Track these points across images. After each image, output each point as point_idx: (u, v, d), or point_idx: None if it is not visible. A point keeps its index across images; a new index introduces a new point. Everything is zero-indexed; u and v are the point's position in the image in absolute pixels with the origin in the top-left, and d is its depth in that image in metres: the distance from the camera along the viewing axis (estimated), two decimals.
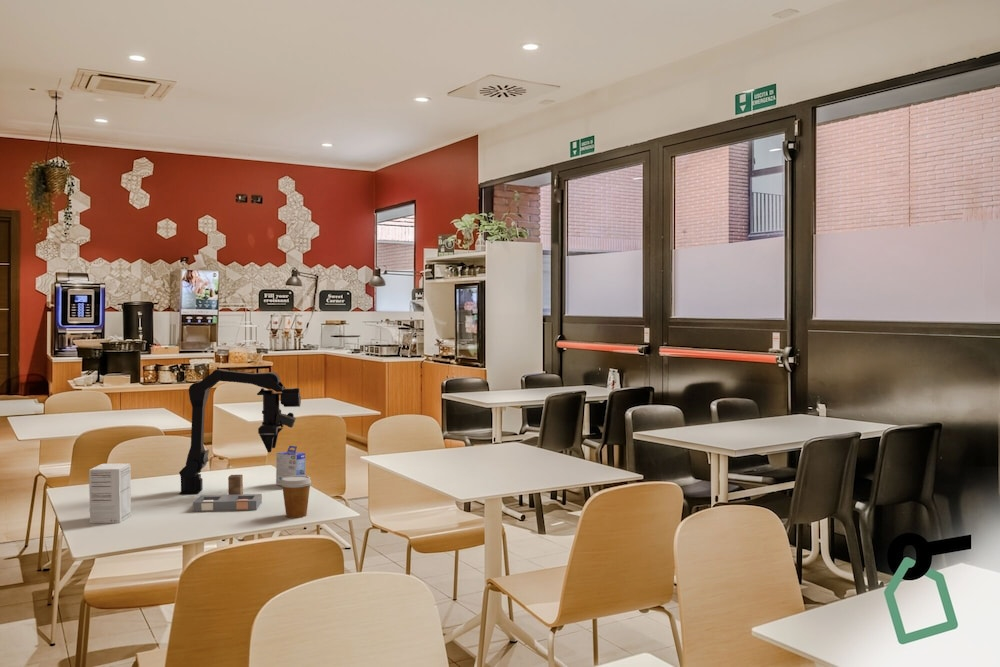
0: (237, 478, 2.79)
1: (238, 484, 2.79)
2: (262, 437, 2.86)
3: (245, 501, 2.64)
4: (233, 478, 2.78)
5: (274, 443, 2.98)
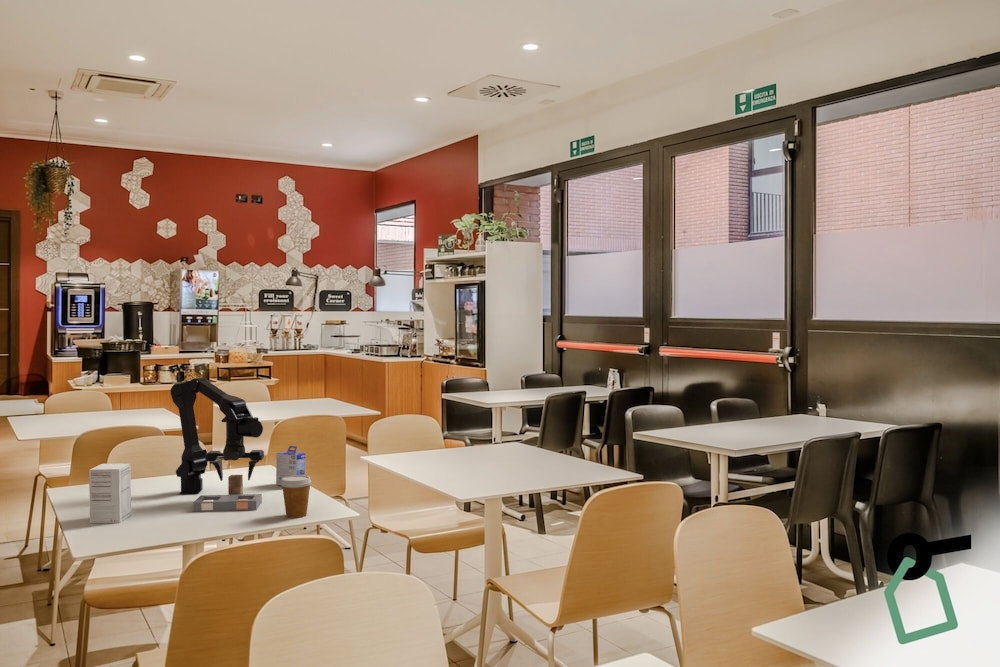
0: (237, 478, 2.79)
1: (238, 484, 2.79)
2: None
3: (245, 501, 2.64)
4: (233, 478, 2.78)
5: (248, 475, 2.81)
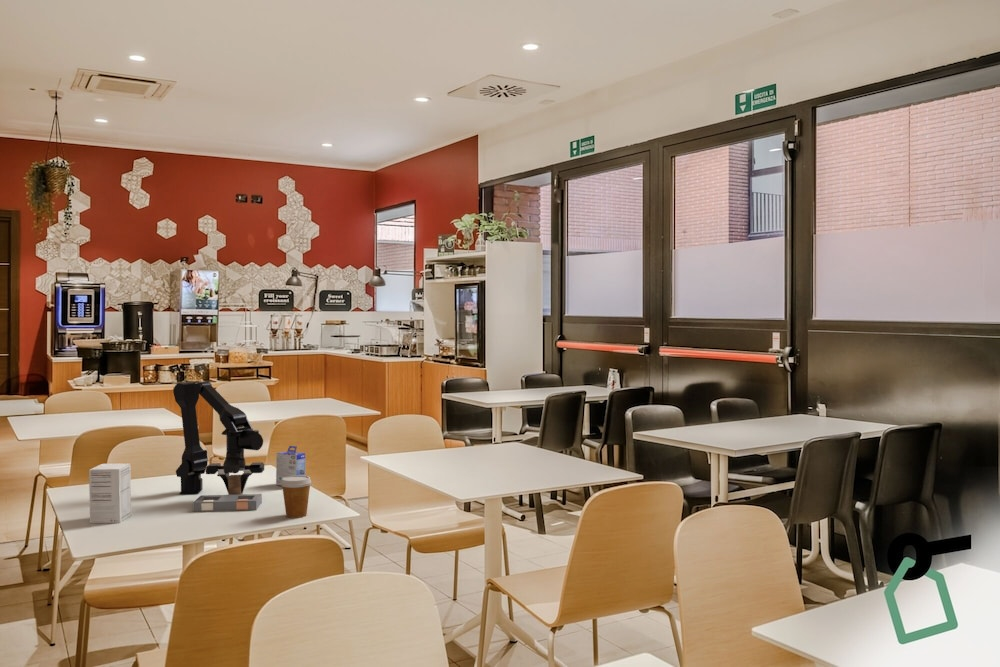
0: (237, 478, 2.79)
1: (238, 484, 2.79)
2: None
3: (245, 501, 2.64)
4: (233, 478, 2.78)
5: (241, 487, 2.81)
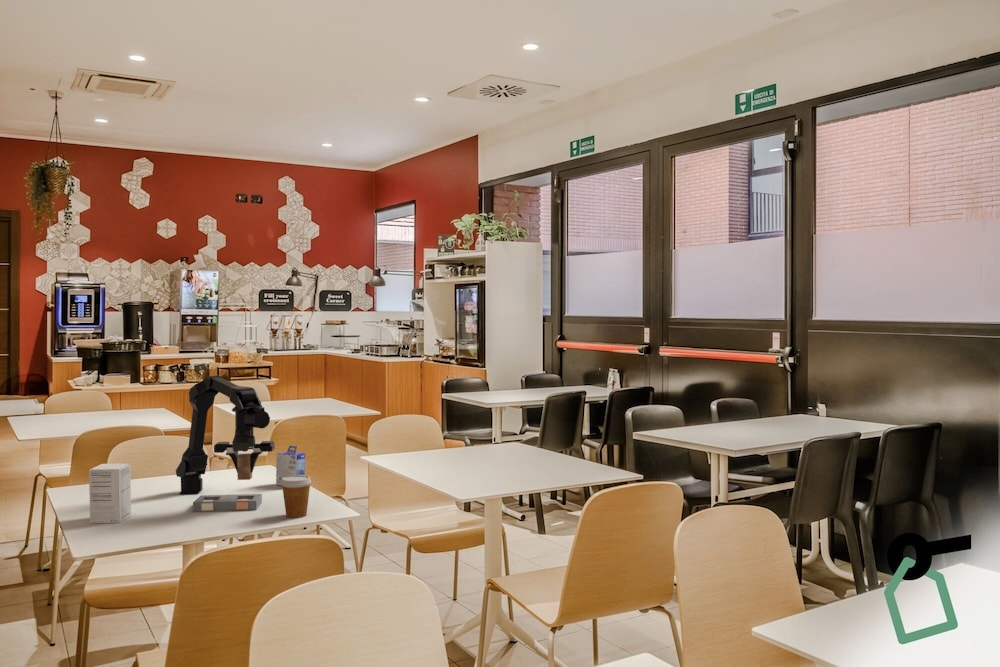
0: (246, 457, 2.67)
1: (247, 463, 2.67)
2: None
3: (245, 501, 2.64)
4: (242, 457, 2.67)
5: None
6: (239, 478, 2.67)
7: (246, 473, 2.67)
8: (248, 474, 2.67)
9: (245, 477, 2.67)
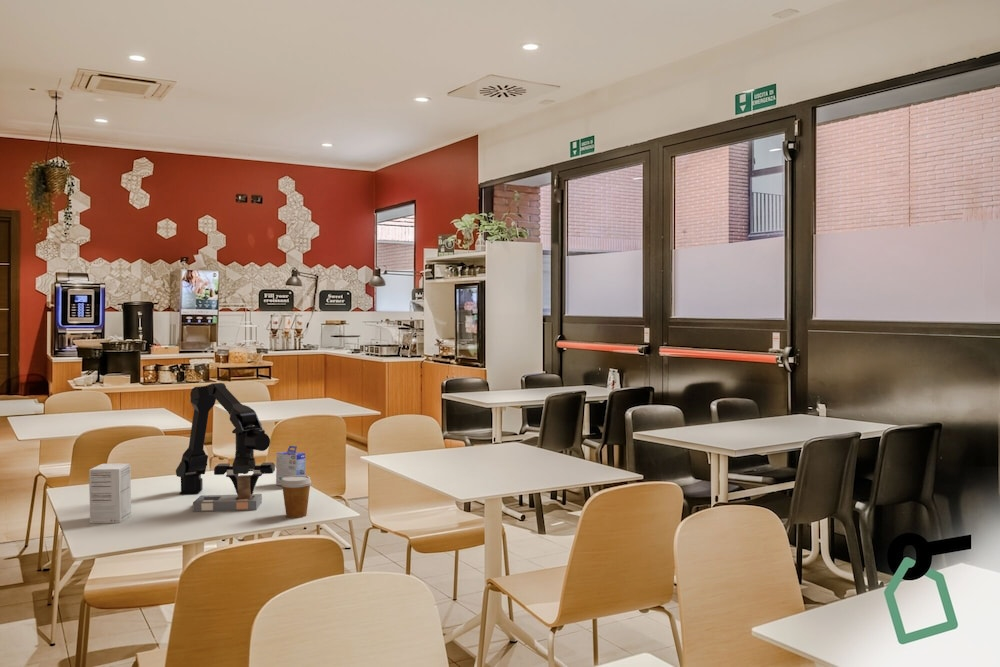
0: (247, 479, 2.67)
1: (248, 485, 2.67)
2: None
3: (245, 501, 2.64)
4: (242, 479, 2.67)
5: (251, 489, 2.69)
6: None
7: (246, 495, 2.67)
8: (248, 496, 2.68)
9: None
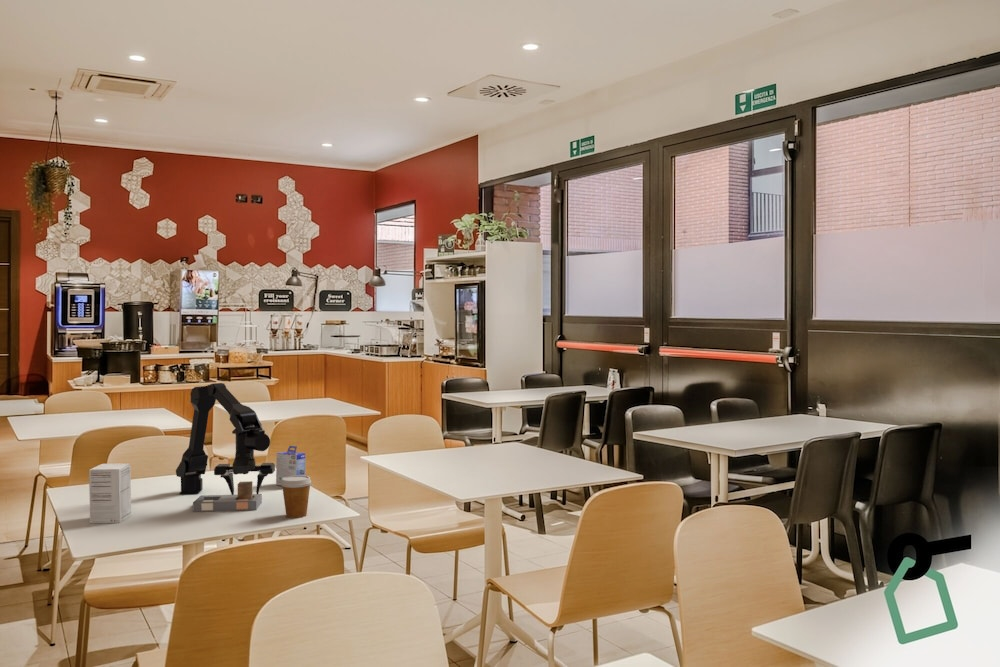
0: (247, 485, 2.67)
1: (248, 491, 2.67)
2: None
3: (245, 501, 2.64)
4: (242, 485, 2.67)
5: (256, 489, 2.70)
6: None
7: None
8: None
9: None
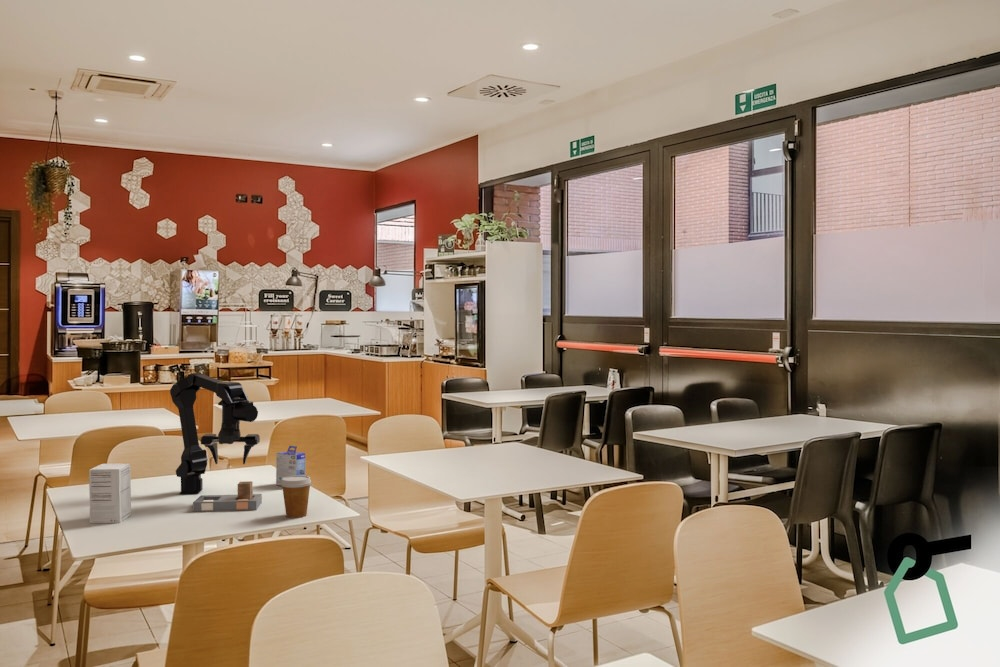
0: (247, 485, 2.67)
1: (248, 491, 2.67)
2: None
3: (245, 501, 2.64)
4: (242, 485, 2.67)
5: (243, 459, 2.80)
6: None
7: None
8: None
9: None
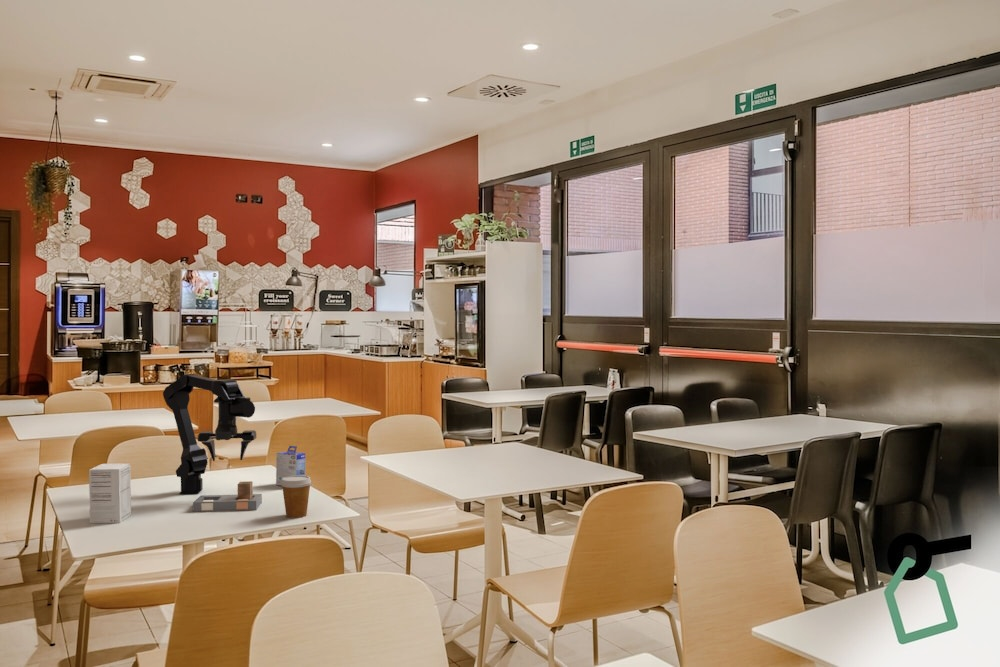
0: (247, 485, 2.67)
1: (248, 491, 2.67)
2: None
3: (245, 501, 2.64)
4: (242, 485, 2.67)
5: None
6: None
7: None
8: None
9: None
